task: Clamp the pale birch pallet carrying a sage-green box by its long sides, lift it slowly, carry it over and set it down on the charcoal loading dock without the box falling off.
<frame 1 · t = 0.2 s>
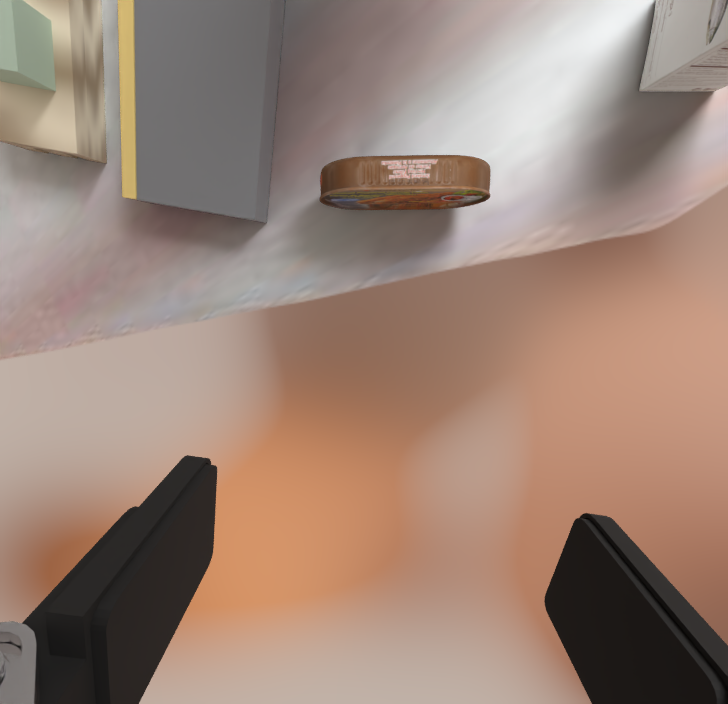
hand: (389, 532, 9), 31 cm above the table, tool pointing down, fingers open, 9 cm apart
pallet: (65, 75, 33), on the table, touching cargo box
dock: (212, 101, 33), on the table
supplement box: (682, 48, 32), on the table
tin: (399, 193, 36), on the table
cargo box: (26, 51, 29), point 4 cm above the table, touching pallet
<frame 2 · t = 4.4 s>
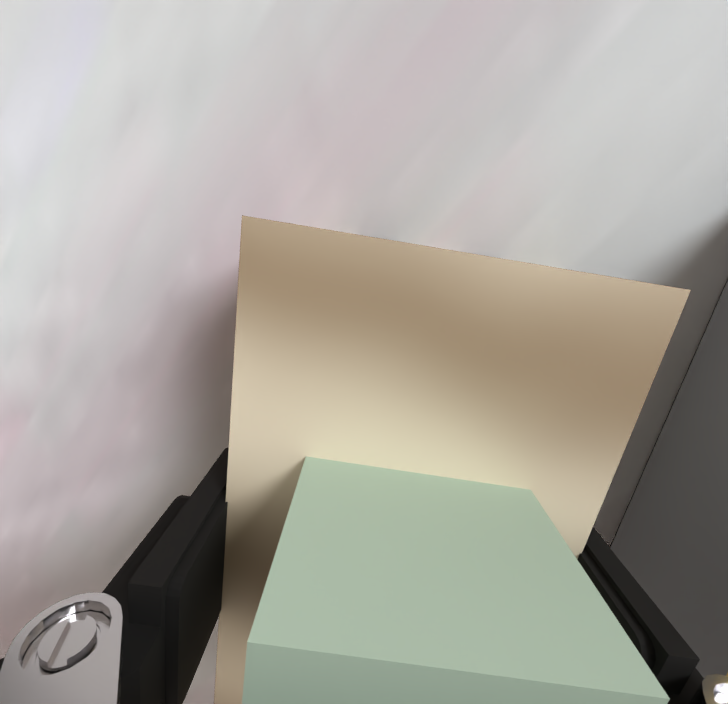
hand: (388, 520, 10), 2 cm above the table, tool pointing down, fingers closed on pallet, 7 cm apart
pallet: (386, 471, 12), on the table, touching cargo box, gripper
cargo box: (396, 571, 8), point 4 cm above the table, touching pallet
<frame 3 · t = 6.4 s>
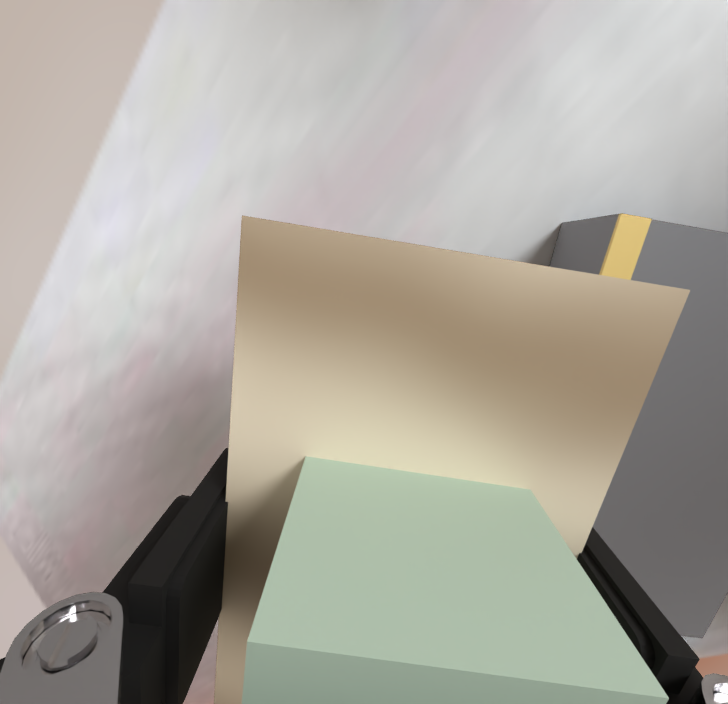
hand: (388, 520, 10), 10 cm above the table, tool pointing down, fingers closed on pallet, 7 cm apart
pallet: (385, 471, 12), point 8 cm above the table, touching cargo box, gripper
dock: (609, 423, 20), on the table
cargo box: (396, 571, 8), point 12 cm above the table, touching pallet
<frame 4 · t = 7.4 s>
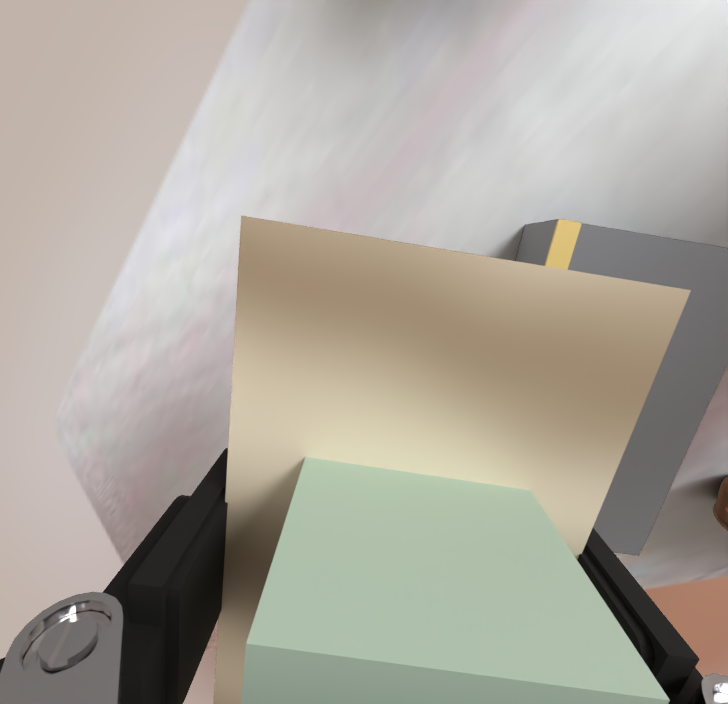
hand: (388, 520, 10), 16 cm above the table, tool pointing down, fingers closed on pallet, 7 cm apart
pallet: (385, 471, 12), point 14 cm above the table, touching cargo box, gripper
dock: (567, 386, 25), on the table
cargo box: (396, 572, 8), point 18 cm above the table, touching pallet
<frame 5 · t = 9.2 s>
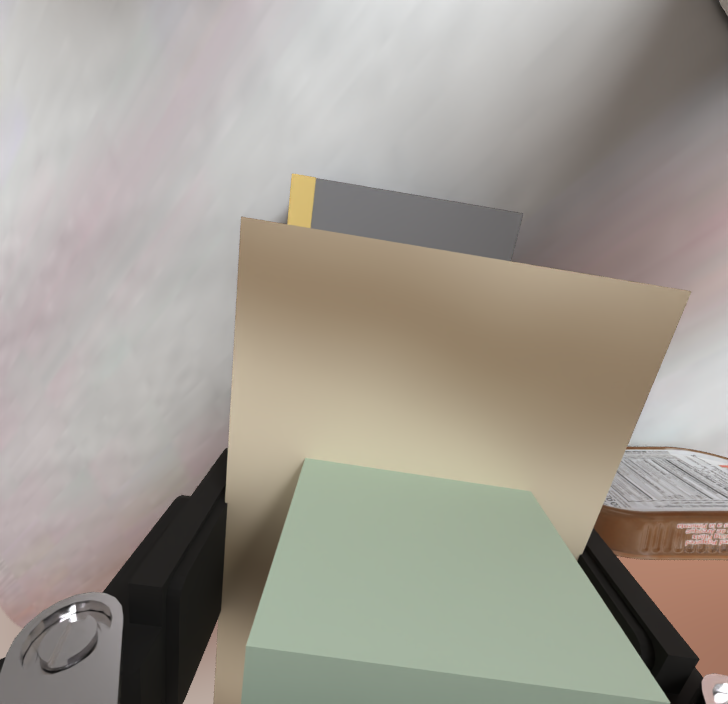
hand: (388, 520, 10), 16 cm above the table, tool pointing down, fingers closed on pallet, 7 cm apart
pallet: (385, 472, 12), point 14 cm above the table, touching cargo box, gripper
dock: (375, 356, 25), on the table
tin: (610, 455, 27), on the table
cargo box: (396, 573, 8), point 18 cm above the table, touching pallet
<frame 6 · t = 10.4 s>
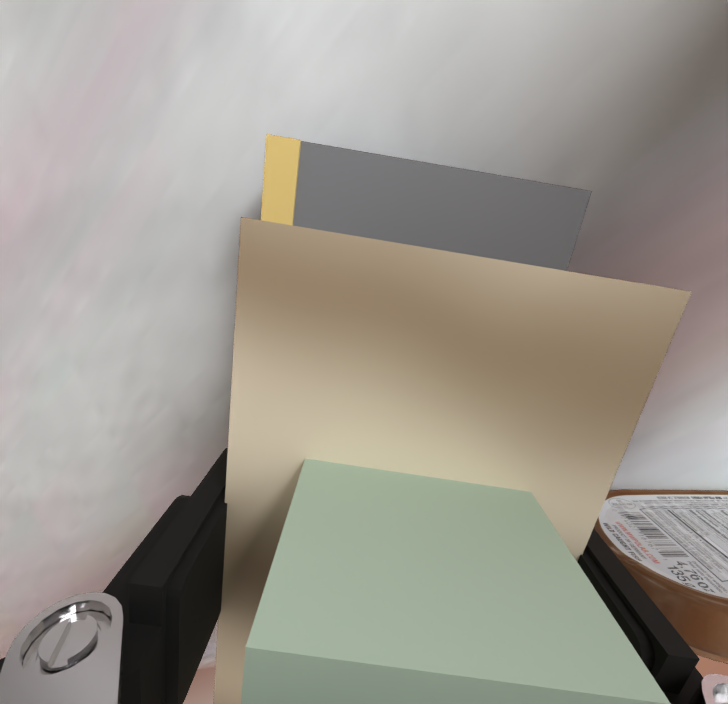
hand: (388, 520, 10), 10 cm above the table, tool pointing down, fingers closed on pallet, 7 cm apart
pallet: (385, 472, 12), point 8 cm above the table, touching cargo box, gripper
dock: (381, 378, 20), on the table
tin: (672, 499, 22), on the table
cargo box: (396, 573, 8), point 12 cm above the table, touching pallet
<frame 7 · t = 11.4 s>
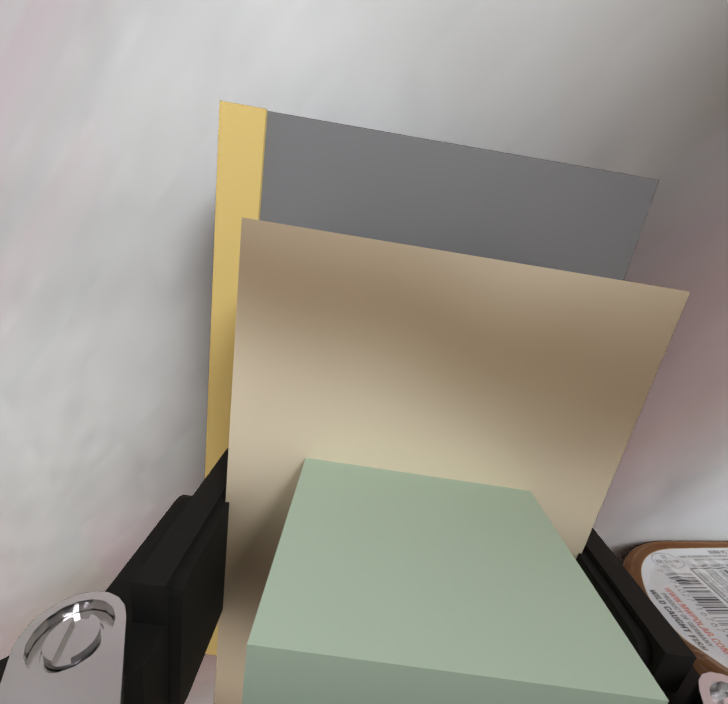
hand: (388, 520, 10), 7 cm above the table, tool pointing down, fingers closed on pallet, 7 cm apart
pallet: (385, 472, 12), point 5 cm above the table, touching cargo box, gripper
dock: (378, 412, 16), on the table
tin: (722, 550, 18), on the table
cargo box: (396, 572, 8), point 9 cm above the table, touching pallet
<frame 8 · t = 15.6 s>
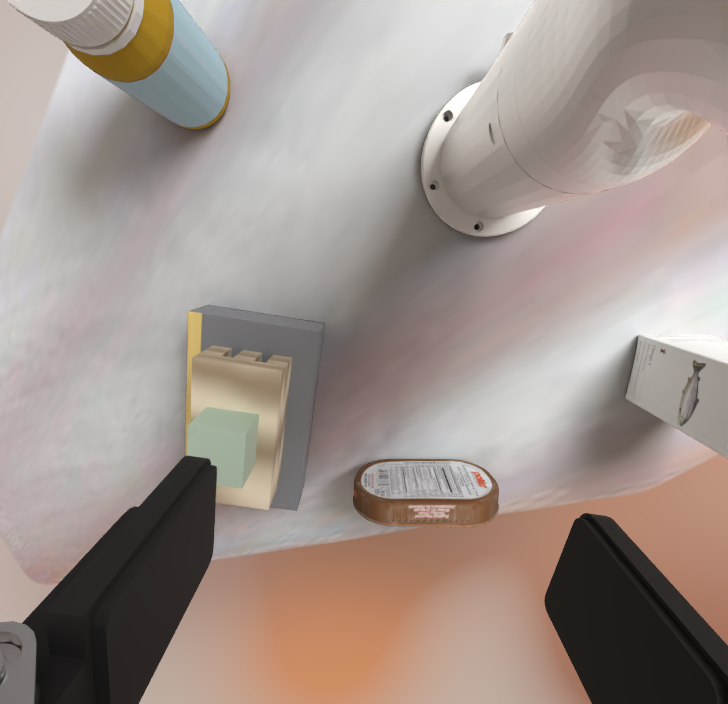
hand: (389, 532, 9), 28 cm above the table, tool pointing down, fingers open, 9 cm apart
pallet: (247, 418, 35), point 4 cm above the table, touching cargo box, dock
dock: (259, 402, 39), on the table
supplement box: (662, 366, 37), on the table
tin: (419, 464, 41), on the table
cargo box: (231, 436, 31), point 8 cm above the table, touching pallet
bottle: (194, 87, 31), on the table
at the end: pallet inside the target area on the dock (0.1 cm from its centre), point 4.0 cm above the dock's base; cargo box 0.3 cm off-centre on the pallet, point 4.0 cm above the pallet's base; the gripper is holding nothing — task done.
